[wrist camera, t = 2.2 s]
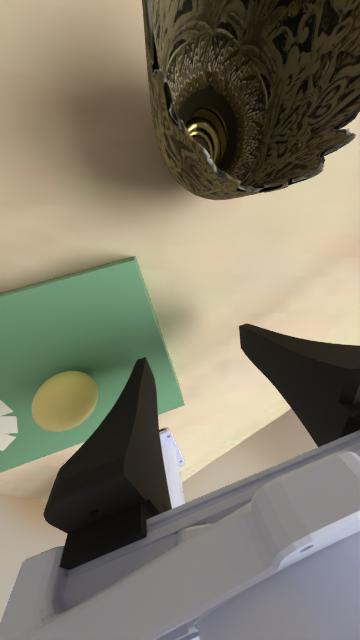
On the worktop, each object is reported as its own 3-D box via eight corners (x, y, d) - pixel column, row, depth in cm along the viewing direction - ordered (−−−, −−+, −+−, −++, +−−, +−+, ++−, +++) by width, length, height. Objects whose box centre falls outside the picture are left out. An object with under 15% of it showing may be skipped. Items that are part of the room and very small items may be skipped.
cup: (139, 210, 12) (137, 159, 4) (138, 44, 9) (130, -897, 2) (234, 225, 13) (343, 204, 6) (261, 90, 10) (528, -246, 3)
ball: (110, 387, 14) (101, 431, 10) (66, 402, 13) (42, 453, 10) (89, 353, 12) (70, 393, 9) (38, 369, 12) (-1, 418, 8)
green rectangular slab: (178, 382, 19) (184, 405, 16) (-25, 453, 17) (-55, 492, 14) (135, 256, 13) (133, 259, 10) (-196, 347, 11) (-306, 381, 8)
